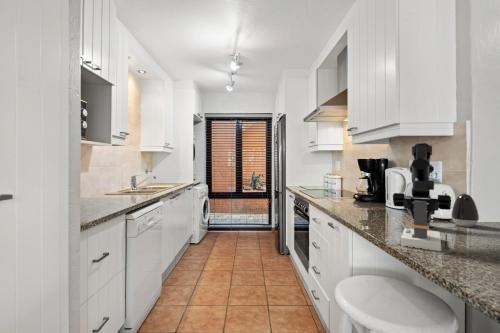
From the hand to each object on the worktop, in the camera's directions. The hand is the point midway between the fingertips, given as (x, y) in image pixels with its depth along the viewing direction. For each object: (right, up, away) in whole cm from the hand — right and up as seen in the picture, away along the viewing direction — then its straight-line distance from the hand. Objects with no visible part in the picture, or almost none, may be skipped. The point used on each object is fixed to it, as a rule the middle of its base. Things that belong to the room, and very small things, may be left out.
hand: (420, 219), depth 99 cm
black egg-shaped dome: (+40, -9, +29) cm, 50 cm away
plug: (+1, -7, +1) cm, 7 cm away
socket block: (+3, -10, +5) cm, 11 cm away
